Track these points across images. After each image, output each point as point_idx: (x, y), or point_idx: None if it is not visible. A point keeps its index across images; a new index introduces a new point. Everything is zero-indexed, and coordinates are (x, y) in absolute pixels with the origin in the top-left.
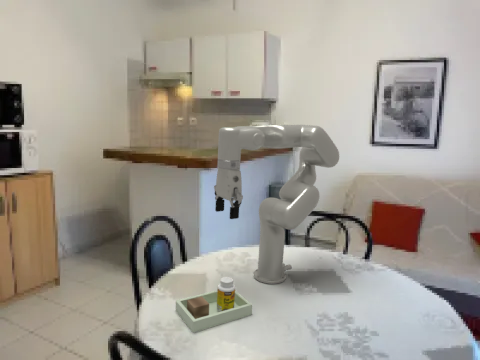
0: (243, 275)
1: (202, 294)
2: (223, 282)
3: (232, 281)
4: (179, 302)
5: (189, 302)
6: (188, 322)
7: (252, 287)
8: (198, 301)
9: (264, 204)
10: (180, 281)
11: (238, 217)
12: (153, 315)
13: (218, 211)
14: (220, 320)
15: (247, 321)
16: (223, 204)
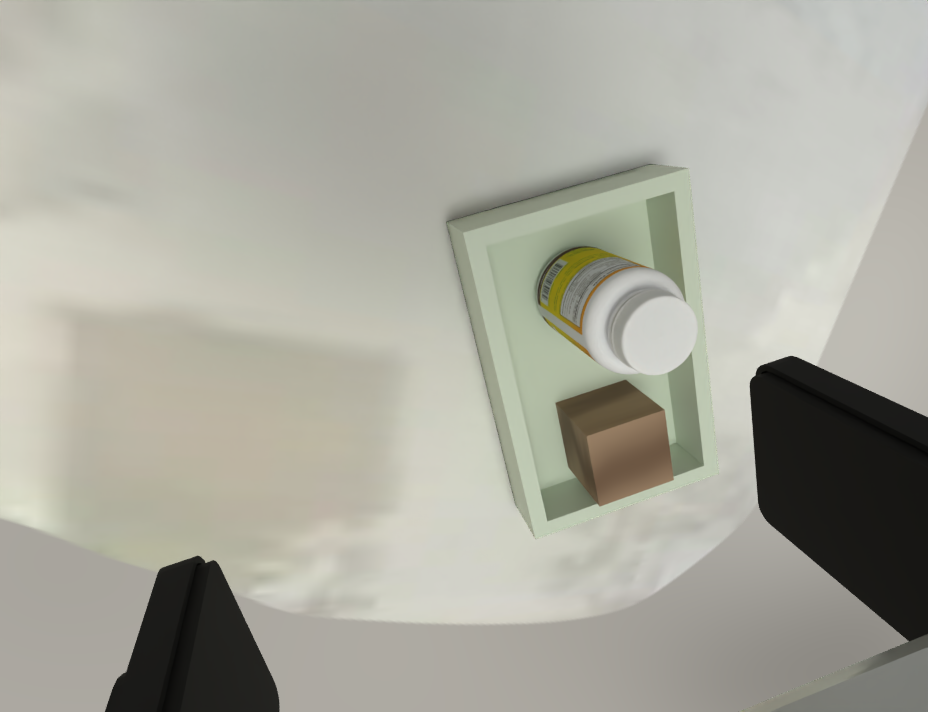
0: (122, 15)
1: (512, 414)
2: (680, 362)
3: (688, 304)
4: (557, 523)
5: (623, 497)
6: None
7: (338, 22)
8: (628, 457)
9: None
10: (186, 476)
11: (792, 358)
12: (509, 584)
13: (252, 655)
14: None
15: None
16: (197, 690)
